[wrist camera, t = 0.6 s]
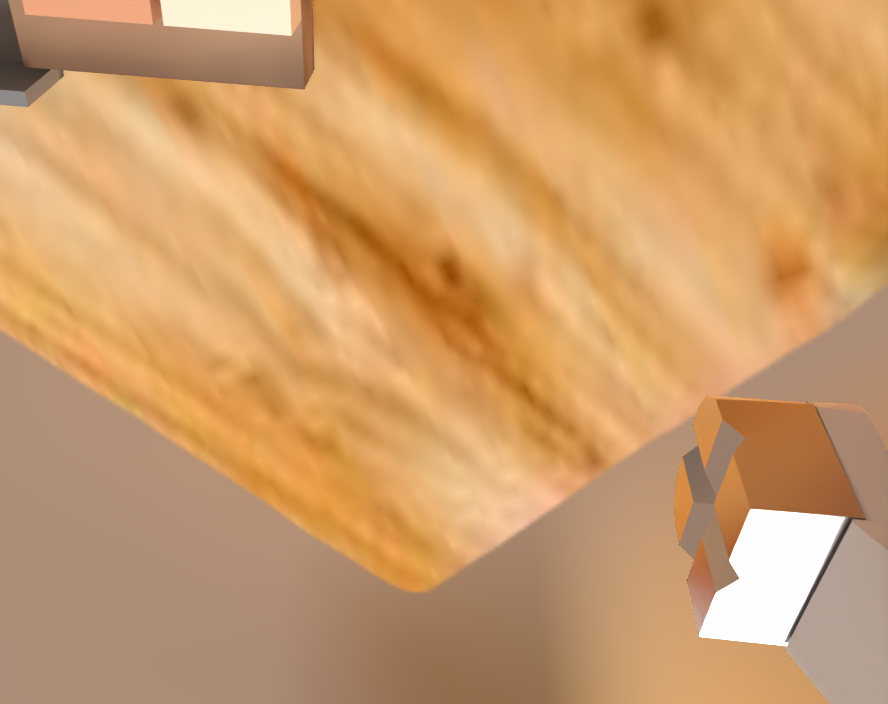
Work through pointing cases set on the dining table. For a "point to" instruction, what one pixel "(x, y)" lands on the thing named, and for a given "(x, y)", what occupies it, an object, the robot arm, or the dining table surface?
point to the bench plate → (167, 50)
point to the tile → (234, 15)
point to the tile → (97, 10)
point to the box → (19, 67)
